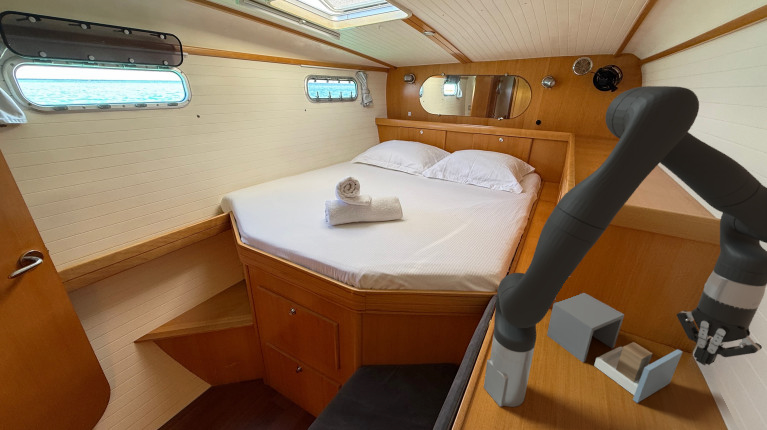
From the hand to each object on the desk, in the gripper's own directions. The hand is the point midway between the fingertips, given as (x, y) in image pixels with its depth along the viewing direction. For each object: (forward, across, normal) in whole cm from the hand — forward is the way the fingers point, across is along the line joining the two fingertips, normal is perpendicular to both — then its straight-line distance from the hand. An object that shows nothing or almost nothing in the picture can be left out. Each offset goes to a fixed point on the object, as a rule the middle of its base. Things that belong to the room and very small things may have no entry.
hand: (702, 361), depth 66 cm
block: (+14, +11, 0) cm, 18 cm away
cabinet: (+15, +25, 0) cm, 30 cm away
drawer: (+15, +11, 0) cm, 19 cm away
